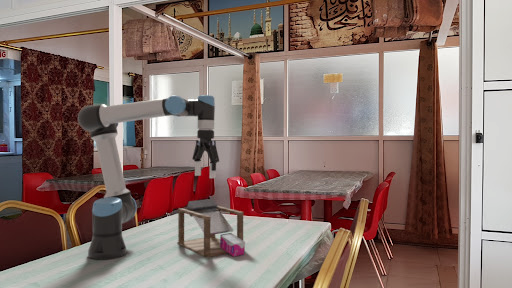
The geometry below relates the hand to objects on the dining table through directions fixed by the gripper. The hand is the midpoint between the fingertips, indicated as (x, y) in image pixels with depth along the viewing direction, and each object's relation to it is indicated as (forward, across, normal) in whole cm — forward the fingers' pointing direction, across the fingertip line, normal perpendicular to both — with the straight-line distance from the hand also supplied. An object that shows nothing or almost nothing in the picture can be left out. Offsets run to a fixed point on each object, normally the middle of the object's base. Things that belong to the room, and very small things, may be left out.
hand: (204, 176), depth 178 cm
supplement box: (+28, -8, -6) cm, 29 cm away
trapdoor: (+21, +1, -3) cm, 21 cm away
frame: (+32, 0, -3) cm, 32 cm away
